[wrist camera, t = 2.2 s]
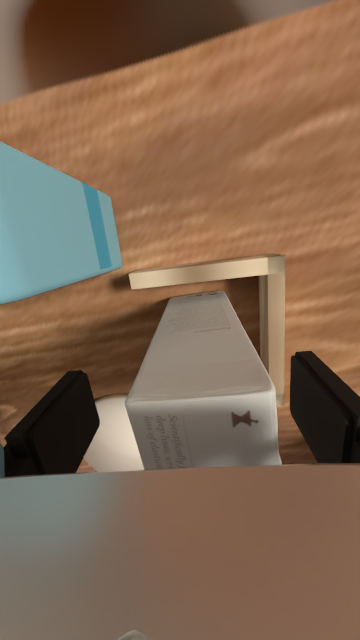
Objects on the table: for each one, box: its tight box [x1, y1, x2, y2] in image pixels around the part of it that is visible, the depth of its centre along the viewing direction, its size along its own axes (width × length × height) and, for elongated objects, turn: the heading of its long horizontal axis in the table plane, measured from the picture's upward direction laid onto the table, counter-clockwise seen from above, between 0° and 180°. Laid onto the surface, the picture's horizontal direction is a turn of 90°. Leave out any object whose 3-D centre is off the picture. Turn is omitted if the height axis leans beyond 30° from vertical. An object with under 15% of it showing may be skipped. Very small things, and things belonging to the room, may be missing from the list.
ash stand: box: [129, 253, 285, 406], centre depth 17 cm, size 10×10×2 cm
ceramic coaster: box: [83, 394, 144, 472], centre depth 22 cm, size 10×10×1 cm
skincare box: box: [125, 290, 282, 470], centre depth 13 cm, size 6×4×12 cm
